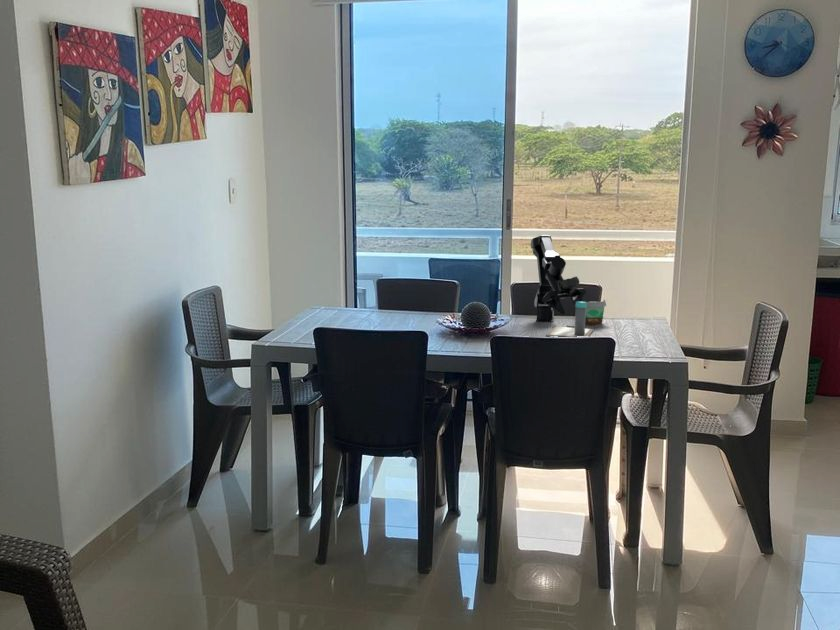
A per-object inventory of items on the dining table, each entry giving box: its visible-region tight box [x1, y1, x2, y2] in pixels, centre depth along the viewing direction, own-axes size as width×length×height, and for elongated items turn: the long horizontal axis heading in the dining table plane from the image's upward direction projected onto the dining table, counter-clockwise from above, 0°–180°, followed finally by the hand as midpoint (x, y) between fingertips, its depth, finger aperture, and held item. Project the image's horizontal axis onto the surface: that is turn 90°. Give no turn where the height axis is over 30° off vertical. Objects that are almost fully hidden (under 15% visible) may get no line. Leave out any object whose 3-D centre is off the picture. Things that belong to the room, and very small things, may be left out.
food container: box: [582, 299, 607, 326], centre depth 346 cm, size 12×6×10 cm, turn 101°
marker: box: [574, 300, 587, 336], centre depth 322 cm, size 4×4×13 cm
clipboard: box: [545, 324, 595, 337], centre depth 329 cm, size 16×19×1 cm
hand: (573, 313), depth 325 cm, fingers open, 9 cm apart
